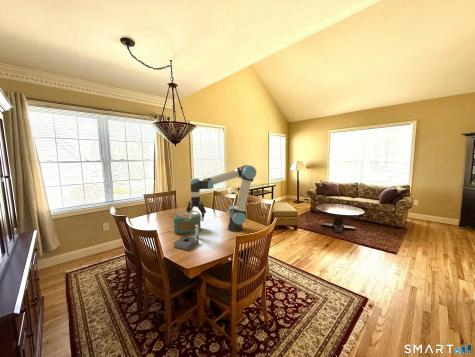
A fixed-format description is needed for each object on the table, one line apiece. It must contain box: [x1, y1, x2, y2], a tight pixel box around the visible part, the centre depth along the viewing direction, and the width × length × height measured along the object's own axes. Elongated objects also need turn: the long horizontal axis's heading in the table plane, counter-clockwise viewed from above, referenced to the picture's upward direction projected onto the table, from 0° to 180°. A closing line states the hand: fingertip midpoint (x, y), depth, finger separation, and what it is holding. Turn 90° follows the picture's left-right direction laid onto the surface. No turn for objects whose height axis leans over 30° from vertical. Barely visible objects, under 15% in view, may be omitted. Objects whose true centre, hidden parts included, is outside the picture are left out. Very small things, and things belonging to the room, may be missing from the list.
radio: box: [173, 210, 202, 235], centre depth 193 cm, size 26×11×20 cm, turn 101°
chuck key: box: [194, 224, 200, 239], centre depth 176 cm, size 3×6×12 cm, turn 154°
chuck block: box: [173, 235, 200, 251], centre depth 163 cm, size 14×14×4 cm
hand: (196, 219), depth 175 cm, fingers open, 13 cm apart
